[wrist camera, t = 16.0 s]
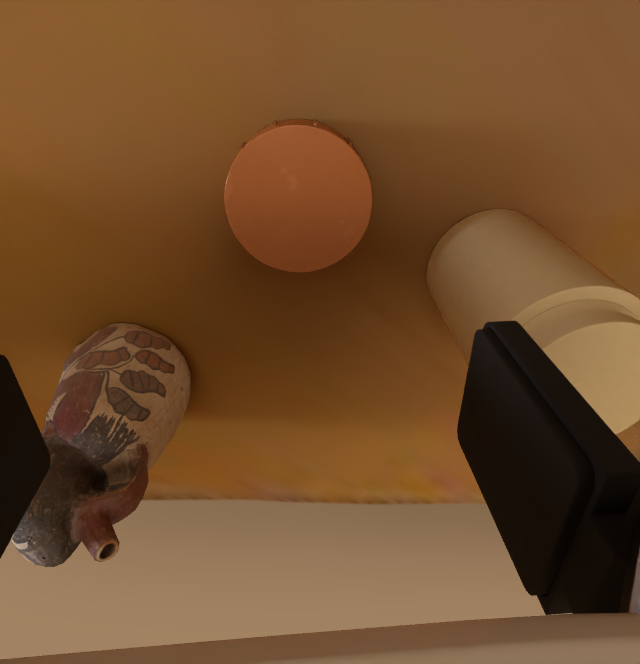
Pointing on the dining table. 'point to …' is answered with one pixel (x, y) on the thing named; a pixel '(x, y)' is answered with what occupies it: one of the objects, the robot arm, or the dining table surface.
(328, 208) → the jar lid
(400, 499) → the dining table surface
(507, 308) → the honey jar
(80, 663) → the robot arm
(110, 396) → the figurine
